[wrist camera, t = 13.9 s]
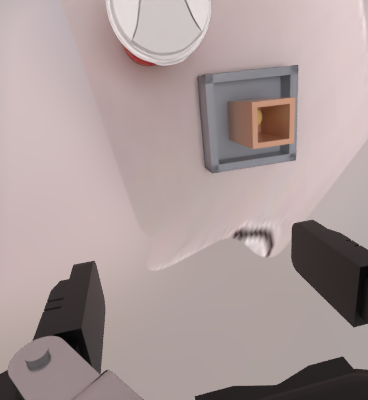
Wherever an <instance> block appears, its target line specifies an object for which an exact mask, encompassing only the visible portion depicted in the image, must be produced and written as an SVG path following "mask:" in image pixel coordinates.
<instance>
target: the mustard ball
mask: <svg viewBox="0 0 368 400" xmlns="http://www.w3.org/2000/svg"><path fill="white" fill-rule="evenodd" d="M257 116H258V126H259V124H260V123H261V121H262V113H261V111H260V110H259V109H258V108H257Z"/></svg>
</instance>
